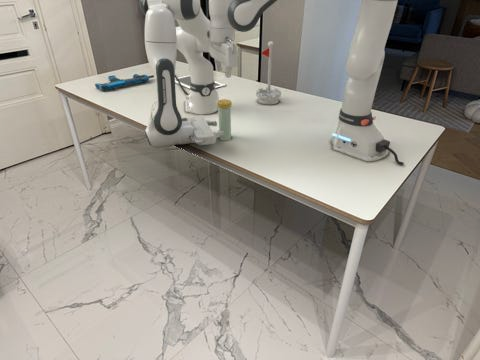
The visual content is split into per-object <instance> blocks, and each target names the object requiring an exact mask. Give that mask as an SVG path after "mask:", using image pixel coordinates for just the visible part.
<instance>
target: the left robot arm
mask: <svg viewBox="0 0 480 360" xmlns="http://www.w3.org/2000/svg"><path fill="white" fill-rule="evenodd" d="M138 5H139V8H140V11H141V12H142V14H143V16H144V17H145V19H144V48H145V53H146V58H147V62H148V64H149V66H150V68H151V70H152V72H153V75H154V78H155V82H156V92H157V93H156V94H157V101H155V102H154V103H153V104H152V106H151V108H150V115H149V120H148V123H147V126H146V128H145V129H144V135H145V138H146V139H147V142H148V144H149V145H150V147H152V148H154V149H155V148H156V149H158V148H168V147H173V146H175V145H187V144H188V145H189V144H197V145H198V146H199V145H200V146H204V145H205V146H206V145H213V144H216V140H217V139H216V138H219V136H221V135H224V131H223V130H219V129H218V131H213V129H212V128H211V127H217V126H218V122H217V120H205V118H204V117H203V116H192V117H186V116H185V117H182V115H181V113H180V111H179V109H178V106H177V96H176V94H177V93H176V83H175V78H176V79H177V81H178V83H179V84H178V85H179V86H180V88H181V90H182V92H183V93H184V94H185V100H184V104H185V105H184V106H185V107H184V108H185V112H186V113H191V114H196V115H211V114H213V113H216V112H217V111H218V107H217V101H218V100H220V97H219V93H218V91H217V90H216V88H215V81H216V80H215V79H214V75H215V74H214V66H213V64H212V62H211V61H210V60H208V59H207V58H205V56H203V54H202V53H210V52H209V43H208V39H209V38H208V37H207V31H208V30H210V21H211V19H208V18H207V16H206V15H205V13H204V11H203V9H202V7H201V0H138ZM176 22H177V24H178V26H176ZM178 51H179V53H181V54H182V55H183V57H184V59H185V60H186V62H187V64H188V69H189V75H190V77H191V82H190V89H189V91H188V93H187V91H186V89H185V87H184V86H182V85H181V83H180V82H179V80H178V78H179V77H177V75H176V63H177V53H178Z"/></svg>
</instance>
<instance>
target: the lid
mask: <svg viewBox="0 0 480 360" xmlns="http://www.w3.org/2000/svg"><path fill="white" fill-rule="evenodd" d="M232 104H233V103H232V100H231V99H226V98H224V99H219V100H218V101H217V107H218V108H222V109H226V108H232Z"/></svg>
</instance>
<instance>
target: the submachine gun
mask: <svg viewBox="0 0 480 360" xmlns="http://www.w3.org/2000/svg"><path fill="white" fill-rule="evenodd" d="M153 78H155V75H154V74H152V75H147V74H142V75H140V74H138V73H134V74H133V75H132V77H130V78H125V79H120V78H118V77H117V76H116V75H108V80H109V81H110V82H105V83H104V82H103V83H97V82H96V83H94V86H95V88H97V89H98V90H100V91H107V90H113V91H114V90H115V89H117V88H122V87H126V86H130V85H136V84H140V83H147V82H148V81H150V79H153Z"/></svg>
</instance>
